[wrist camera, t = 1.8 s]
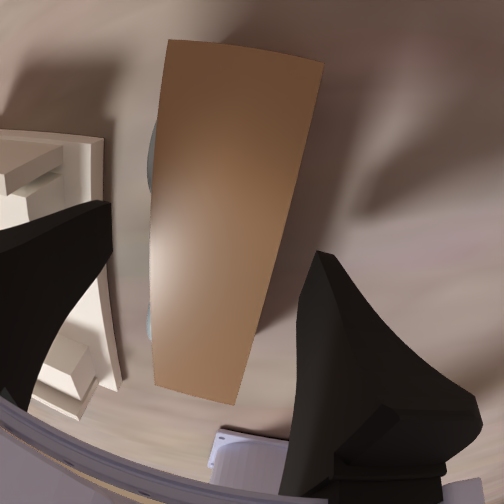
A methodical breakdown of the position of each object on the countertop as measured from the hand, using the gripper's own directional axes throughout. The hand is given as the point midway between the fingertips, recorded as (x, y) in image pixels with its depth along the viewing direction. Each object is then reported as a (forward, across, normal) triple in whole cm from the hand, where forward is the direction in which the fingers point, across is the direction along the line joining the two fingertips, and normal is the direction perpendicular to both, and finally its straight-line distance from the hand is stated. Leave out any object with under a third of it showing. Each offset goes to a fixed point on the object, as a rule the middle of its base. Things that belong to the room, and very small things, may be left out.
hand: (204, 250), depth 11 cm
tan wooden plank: (+3, 0, 0) cm, 3 cm away
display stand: (+3, +10, +6) cm, 12 cm away
